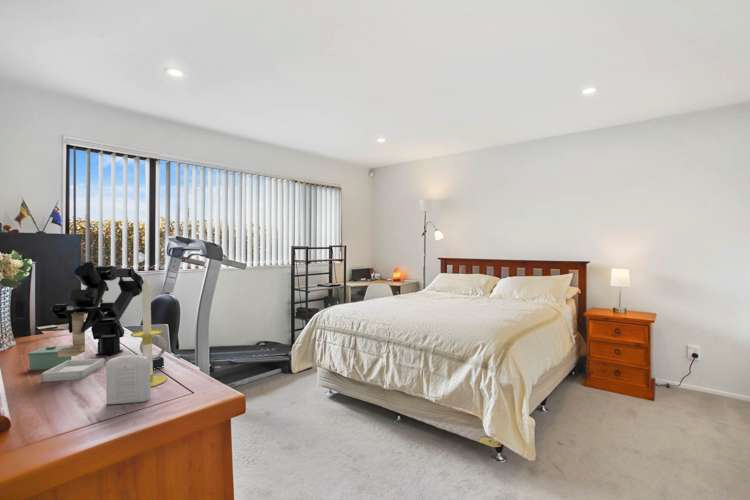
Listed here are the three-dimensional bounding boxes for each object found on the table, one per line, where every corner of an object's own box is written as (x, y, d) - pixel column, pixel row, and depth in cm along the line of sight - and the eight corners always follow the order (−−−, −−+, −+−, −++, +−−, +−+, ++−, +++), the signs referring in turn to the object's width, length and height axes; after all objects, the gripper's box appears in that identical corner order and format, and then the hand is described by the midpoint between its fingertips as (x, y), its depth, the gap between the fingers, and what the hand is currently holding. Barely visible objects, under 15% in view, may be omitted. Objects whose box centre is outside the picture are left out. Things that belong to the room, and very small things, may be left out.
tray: (67, 367, 127) (67, 360, 127) (104, 365, 129) (104, 358, 129) (41, 381, 114) (40, 373, 114) (82, 378, 117) (81, 371, 116)
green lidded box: (72, 360, 135) (72, 342, 135) (57, 368, 126) (56, 349, 126) (45, 362, 133) (45, 344, 133) (28, 370, 125) (27, 351, 125)
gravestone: (153, 396, 103) (152, 351, 103) (147, 402, 99) (146, 356, 99) (111, 399, 101) (110, 354, 100) (103, 406, 96) (102, 359, 96)
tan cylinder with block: (73, 349, 126) (72, 312, 125) (90, 348, 127) (89, 311, 126) (57, 357, 118) (56, 317, 117) (75, 356, 119) (74, 317, 118)
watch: (169, 365, 129) (169, 333, 129) (144, 371, 123) (143, 338, 122) (163, 362, 132) (162, 331, 132) (137, 368, 126) (137, 336, 126)
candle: (171, 382, 113) (169, 275, 113) (133, 391, 106) (131, 278, 105) (160, 374, 120) (158, 274, 119) (124, 383, 113) (122, 276, 112)
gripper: (52, 280, 126) (30, 320, 115) (113, 279, 129) (97, 317, 119) (68, 300, 134) (48, 338, 123) (125, 298, 137) (110, 335, 127)
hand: (76, 332), depth 123 cm, fingers closed on tan cylinder with block, 3 cm apart
